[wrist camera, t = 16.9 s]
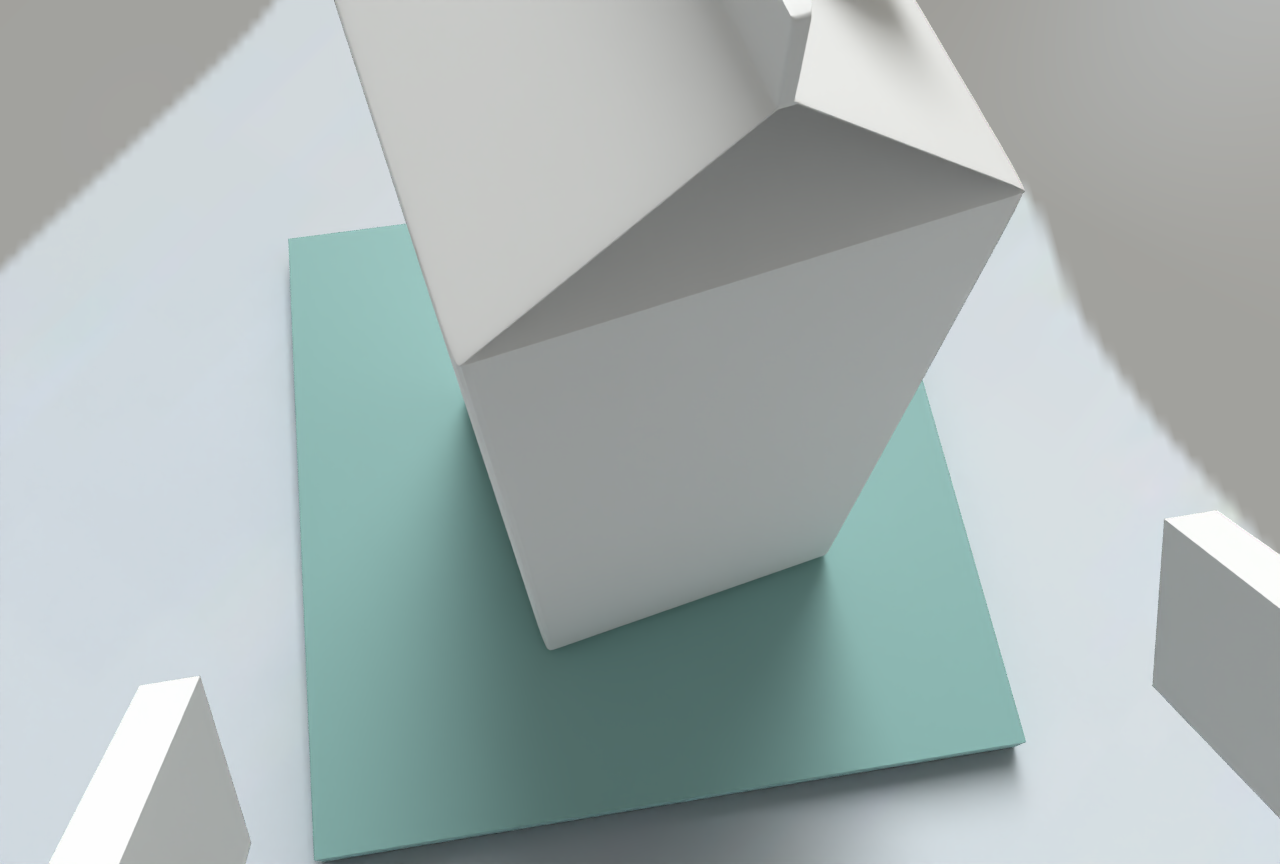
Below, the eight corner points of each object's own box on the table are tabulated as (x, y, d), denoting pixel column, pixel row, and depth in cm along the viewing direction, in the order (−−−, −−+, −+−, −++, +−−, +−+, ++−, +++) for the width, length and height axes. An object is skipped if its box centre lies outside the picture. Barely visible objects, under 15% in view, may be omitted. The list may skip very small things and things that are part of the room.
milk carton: (547, 655, 26) (376, 134, 9) (462, 394, 29) (199, -414, 11) (828, 557, 27) (1189, -91, 10) (721, 313, 30) (850, -545, 12)
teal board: (323, 861, 25) (314, 859, 24) (296, 254, 31) (288, 238, 30) (1015, 746, 26) (1026, 742, 25) (855, 182, 32) (860, 165, 32)
